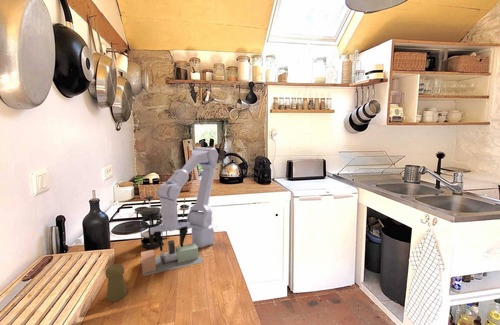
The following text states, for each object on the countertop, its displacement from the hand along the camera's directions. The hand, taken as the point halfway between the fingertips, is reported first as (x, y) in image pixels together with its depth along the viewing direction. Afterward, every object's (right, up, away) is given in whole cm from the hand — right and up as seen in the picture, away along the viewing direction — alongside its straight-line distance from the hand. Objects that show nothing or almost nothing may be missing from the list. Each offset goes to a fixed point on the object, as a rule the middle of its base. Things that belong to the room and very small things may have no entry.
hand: (171, 247), depth 105 cm
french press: (-12, -4, +15) cm, 20 cm away
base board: (0, -6, +1) cm, 6 cm away
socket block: (-8, -6, -3) cm, 10 cm away
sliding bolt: (+3, -5, +2) cm, 6 cm away
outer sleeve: (+5, -5, +3) cm, 8 cm away
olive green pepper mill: (-12, -10, -19) cm, 25 cm away
